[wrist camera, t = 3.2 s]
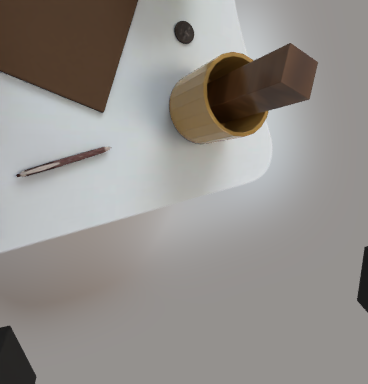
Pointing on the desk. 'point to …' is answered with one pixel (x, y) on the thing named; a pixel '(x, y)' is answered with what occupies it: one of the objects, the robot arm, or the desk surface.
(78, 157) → the pen
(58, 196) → the desk surface
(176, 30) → the coin
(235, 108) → the block
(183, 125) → the wooden pot
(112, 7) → the mat
